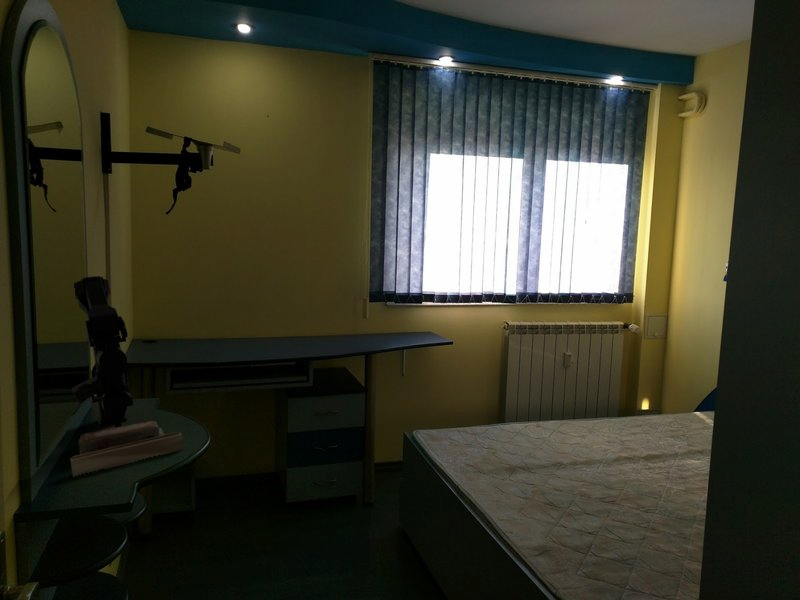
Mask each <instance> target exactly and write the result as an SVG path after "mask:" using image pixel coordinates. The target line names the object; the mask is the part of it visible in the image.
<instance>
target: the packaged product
mask: <svg viewBox="0 0 800 600" xmlns="http://www.w3.org/2000/svg"><path fill="white" fill-rule="evenodd" d="M161 435H165V433H164V431H163V429H162V427H159V425H158V423H157V421H154V420H153V421H151V420H150V421H145V422H139V423H134V424H128V425H123V426H122V425H121V427H117V428H115V427H113V428H106V429H103V430H96V431H91V432H86V433H83V434H80V438H79V439H78V447H79V455H80V454H85V453H89V452H93V451H97V450H102V449H106V448H110V447H114V446H119V445H123V444H127V443H131V442H136V441H140V440H144V439H148V438H153V437H157V436H161Z"/></svg>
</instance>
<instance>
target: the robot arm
mask: <svg viewBox="0 0 800 600" xmlns="http://www.w3.org/2000/svg"><path fill="white" fill-rule="evenodd" d="M109 283H110V281H109V279H106V278H104V276H100V275H96V276H85V277H83V278H81V279H80V280H78V281H75V282H73V284H74V288H75V298H76V299H75V298H74V299H75V300H77V303H78V307H79V309H81V311H82V312H84V313H85V314H86V317H87V320H85V322H84V323H85V330H86V336H87V340H88V344H89V345H88V346H89V347H90V348H92V352H93V356H94V365H93V366H92V369H91V370H90V371H91V372H90V378H89V379H87V380H84V381H83V382H80V383H79V384H76V385H75V386H73V387H71V392H72V394H73V396H74V398H75V399H76V400H77V402H78V404H82V403H84V402H86V400H88V399H90V400H91V403H92V404H95V403H97V408H98V409H97V410H98V417H96V419H97V422H98V425H99V426H100V427H104V426H107V425H112V424H114V428H117V427H122V424H123V422H126V421H128V418H127V416H126V412H127V409H128V407H131V406H134V400H133V396H132V394H131V393H130V385H129V384H130V383H129V382H130V381H129V378H128V377H127V376H126V371H125V370H126V369H125V368H126V366H127V365H128V364H127V363H128V357H127V355H126V354H125V352H124V351H123V349H121V348H122V347H121V344H120V343H124V342H125V343H126V342H127V338H128V331H127V327H126V322H125V320H124V319H123V317H122V316H121V315H120V316H119V313H118V312H117V309H116V308H115V307H114V306H110V305H109V302H108V297H109V296H110V295H111V288H110V284H109Z"/></svg>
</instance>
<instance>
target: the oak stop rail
mask: <svg viewBox="0 0 800 600" xmlns="http://www.w3.org/2000/svg"><path fill="white" fill-rule="evenodd" d="M164 434H165V433H164ZM183 439H184V438H183V434H182V433H181V432H180V431H175V432H174V431H173V432H170V433H166V434H165V435H161V436H157V437H153V438H148V439H144V440H140V441H136V442H131V443H127V444H123V445H119V446H114V447H110V448H106V449H102V450H97V451H93V452H89V453H85V454H80V453H79V454H77V455H73V456H72V457H69V458H70V466H71V473H72V477H73V478H75V476H76V477H79V476H78V475H80V476H82V475H81V474H84V475H86V474H85V473H88V474H90V473H89V472H92V473H94V472H93V471H96V472H99V471H98V470H100V471H102V470H101V469H104V470H107V469H111V468H115V467H119V466H123V465H128V464H131V463H135V461H136V462H139V461H138V460H140V461H142V459H144V460H146V459H145V458H148V457H152V458H154V457H153V456H156V457H158V455H160V456H163V455H167V454H171V453H175V452H179V451H182V450H183V451H184V450H185V448H184V447H185V446H184V440H183ZM148 459H149V458H148Z"/></svg>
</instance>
